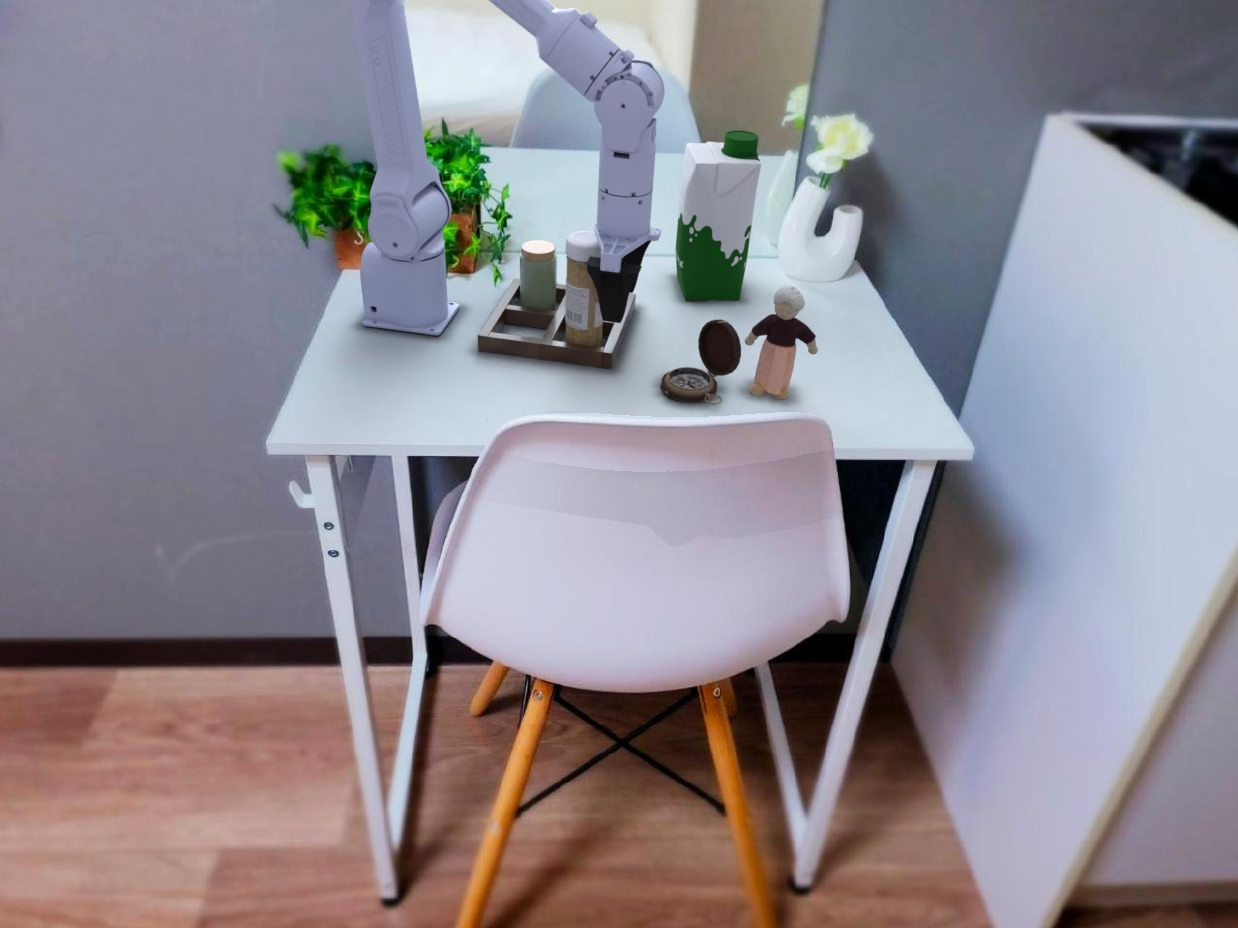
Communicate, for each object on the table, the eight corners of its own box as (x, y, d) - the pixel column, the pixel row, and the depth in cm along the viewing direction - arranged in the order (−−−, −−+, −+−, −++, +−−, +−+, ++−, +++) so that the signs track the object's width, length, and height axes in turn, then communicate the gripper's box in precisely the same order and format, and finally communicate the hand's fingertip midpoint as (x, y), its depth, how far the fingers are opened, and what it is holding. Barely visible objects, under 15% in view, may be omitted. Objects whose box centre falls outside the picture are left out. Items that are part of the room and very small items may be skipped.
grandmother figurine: (739, 399, 107) (755, 292, 99) (738, 380, 110) (752, 276, 102) (810, 404, 107) (831, 297, 99) (806, 385, 110) (826, 281, 102)
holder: (477, 350, 112) (477, 335, 111) (514, 292, 125) (514, 278, 124) (611, 369, 110) (612, 353, 109) (635, 308, 123) (636, 293, 122)
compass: (648, 385, 108) (653, 326, 104) (703, 366, 112) (710, 308, 108) (695, 418, 103) (702, 358, 99) (750, 398, 107) (759, 338, 103)
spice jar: (516, 317, 119) (515, 251, 115) (525, 301, 123) (525, 237, 118) (551, 322, 119) (552, 256, 114) (559, 306, 123) (560, 241, 118)
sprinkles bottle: (610, 350, 114) (615, 241, 106) (576, 360, 112) (579, 249, 104) (589, 334, 117) (593, 226, 109) (556, 342, 115) (558, 233, 107)
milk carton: (748, 304, 126) (769, 147, 114) (678, 304, 125) (693, 146, 113) (734, 274, 133) (753, 124, 121) (668, 274, 132) (680, 123, 120)
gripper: (652, 217, 96) (643, 340, 104) (672, 169, 108) (663, 282, 116) (582, 208, 97) (578, 331, 105) (609, 162, 109) (604, 275, 117)
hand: (618, 305), depth 110 cm, fingers open, 7 cm apart
